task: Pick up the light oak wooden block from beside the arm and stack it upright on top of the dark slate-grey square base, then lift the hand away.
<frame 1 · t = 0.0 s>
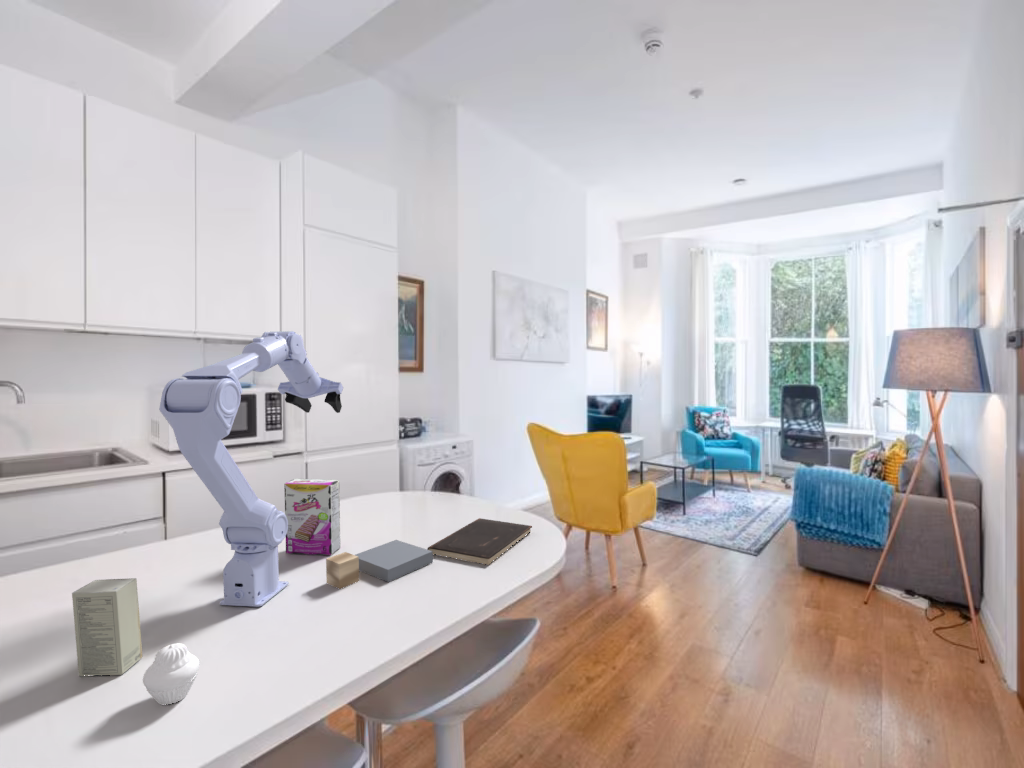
hand: (324, 409, 121), 32 cm above the table, tool tilted 50°, fingers open, 7 cm apart
muffin: (173, 698, 65), on the table
candy bar box: (313, 552, 116), on the table
slate base: (392, 565, 108), on the table
skincare box: (110, 669, 72), on the table
oak block: (342, 582, 99), on the table
hardcover book: (482, 545, 121), on the table
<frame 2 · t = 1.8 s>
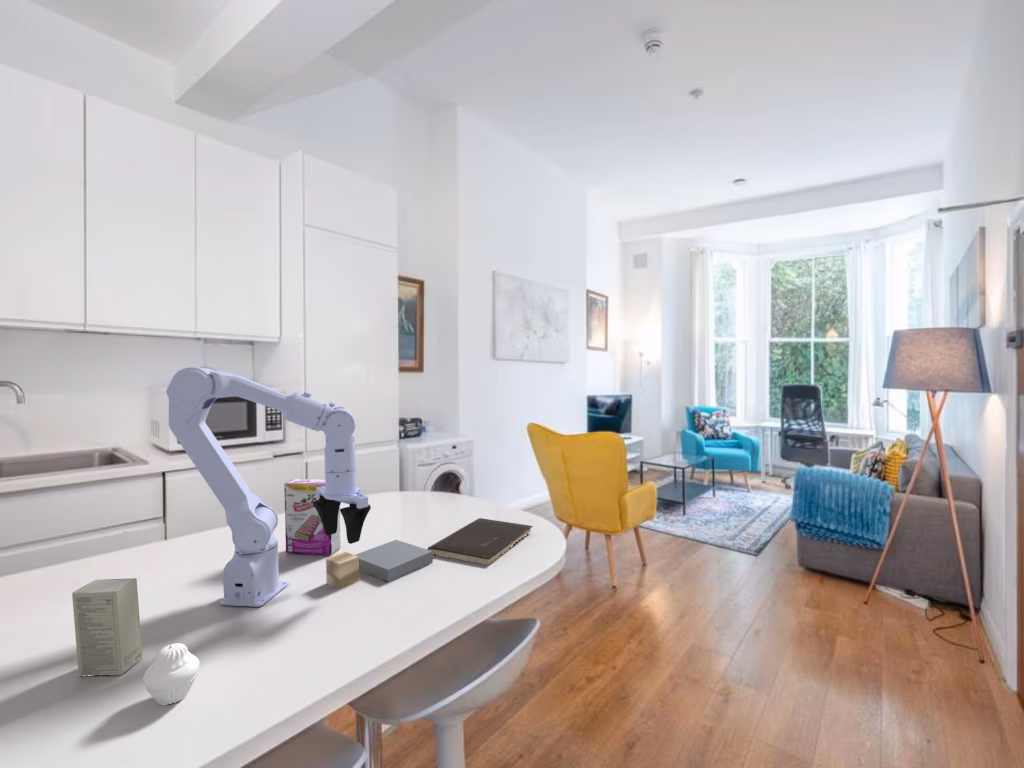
hand: (342, 538, 99), 9 cm above the table, tool pointing down, fingers open, 7 cm apart
nothing on the table moved.
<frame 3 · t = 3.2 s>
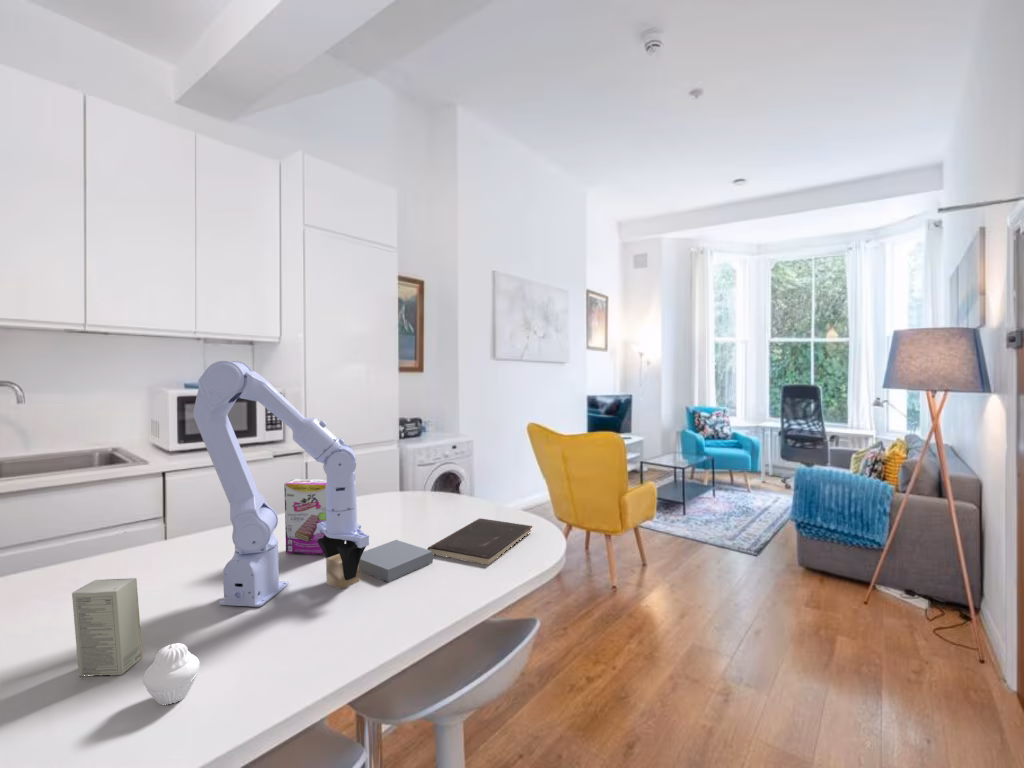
hand: (342, 575, 99), 1 cm above the table, tool pointing down, fingers closed on oak block, 4 cm apart
oak block: (343, 582, 99), on the table, touching gripper
everything else where it was.
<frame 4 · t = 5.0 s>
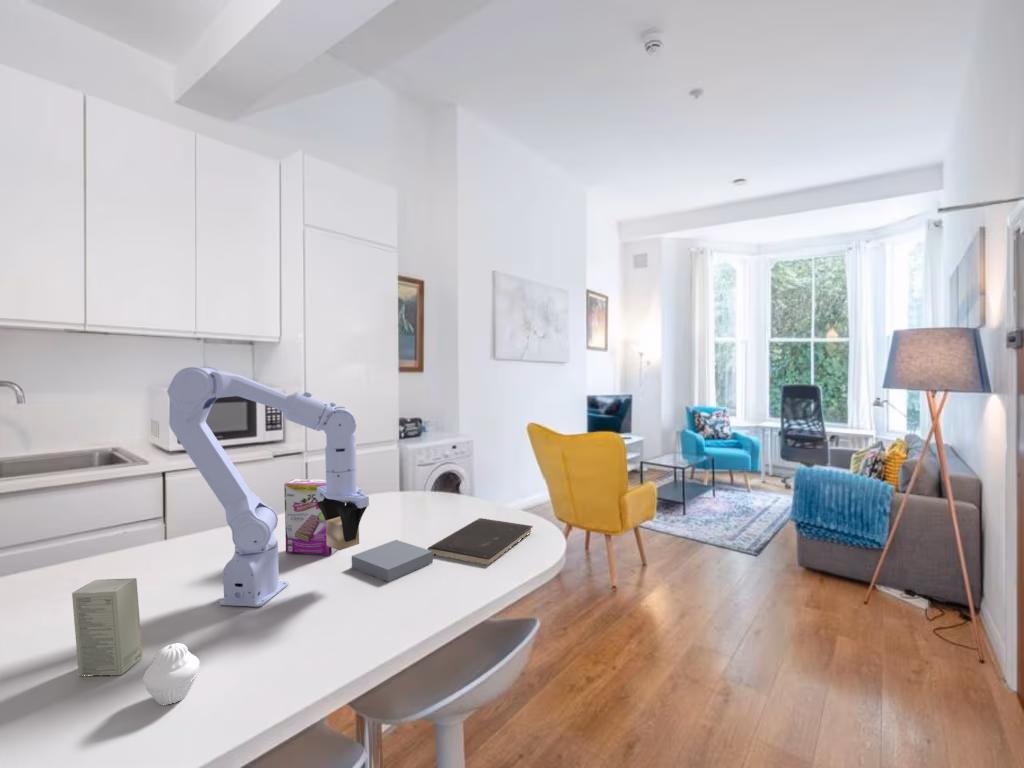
hand: (342, 537, 99), 9 cm above the table, tool pointing down, fingers closed on oak block, 4 cm apart
oak block: (342, 544, 99), point 7 cm above the table, touching gripper
everything else where it was.
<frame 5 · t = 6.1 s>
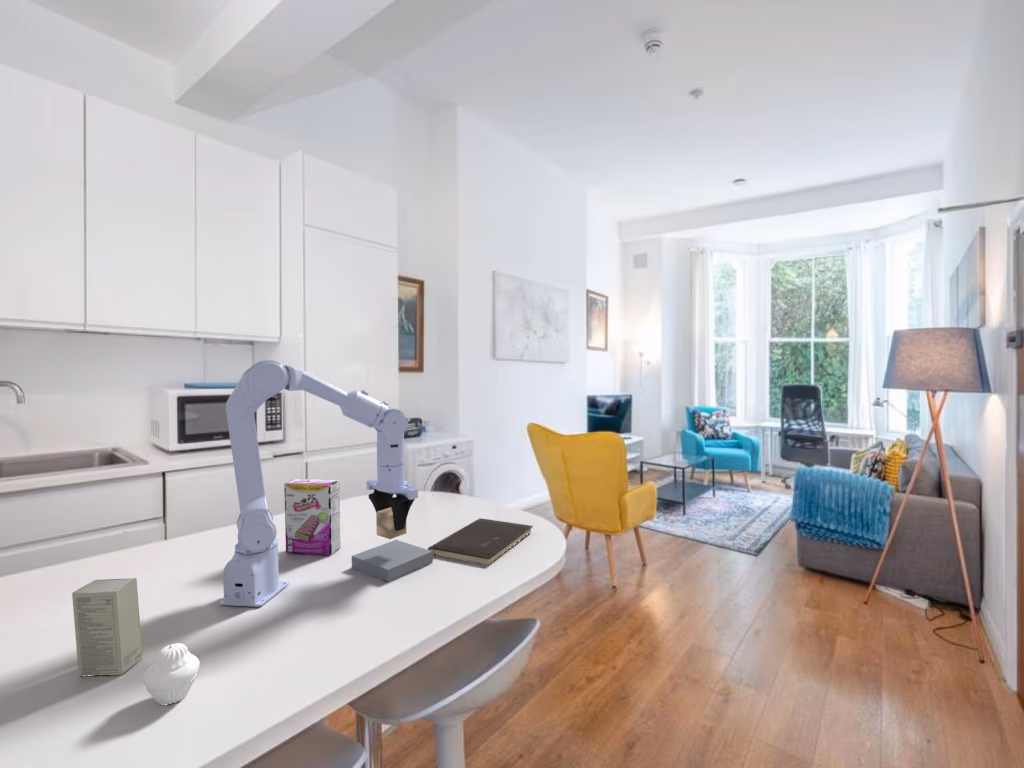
hand: (392, 527, 107), 8 cm above the table, tool pointing down, fingers closed on oak block, 4 cm apart
oak block: (391, 534, 107), point 7 cm above the table, touching gripper
everything else where it was.
when the fingers open (5 cm above the table, at t = 7.1 s): oak block stays where it is, resting on slate base.
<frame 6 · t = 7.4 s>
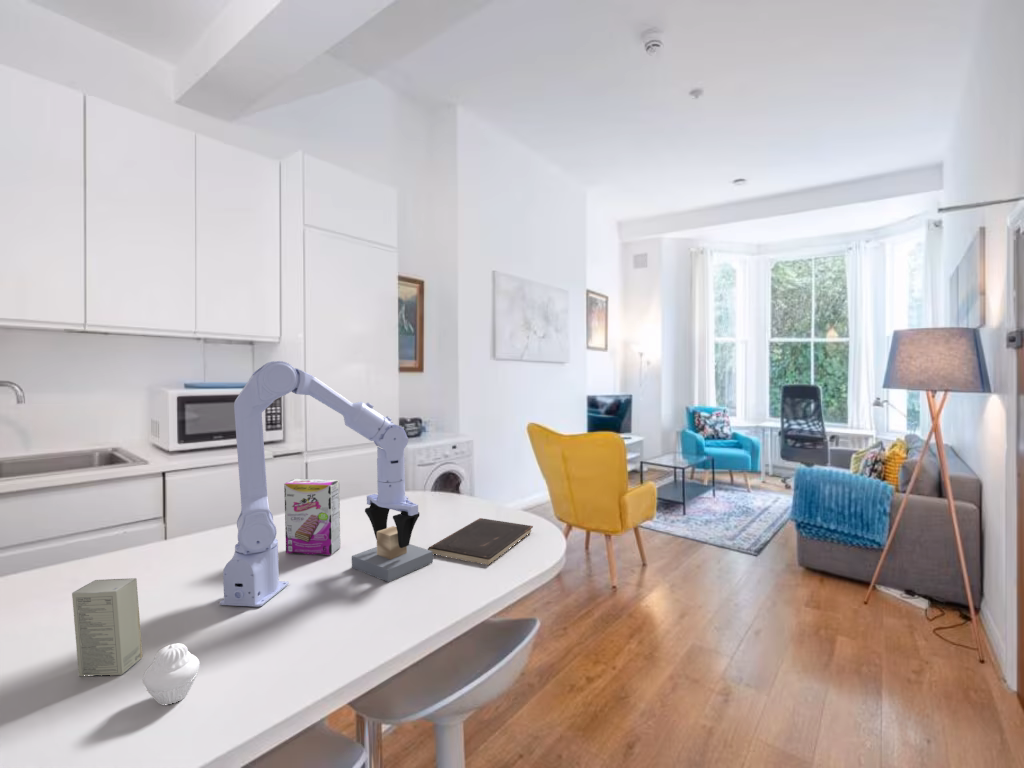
hand: (392, 542, 107), 5 cm above the table, tool pointing down, fingers open, 7 cm apart
oak block: (391, 553, 107), point 2 cm above the table, touching slate base
everything else where it was.
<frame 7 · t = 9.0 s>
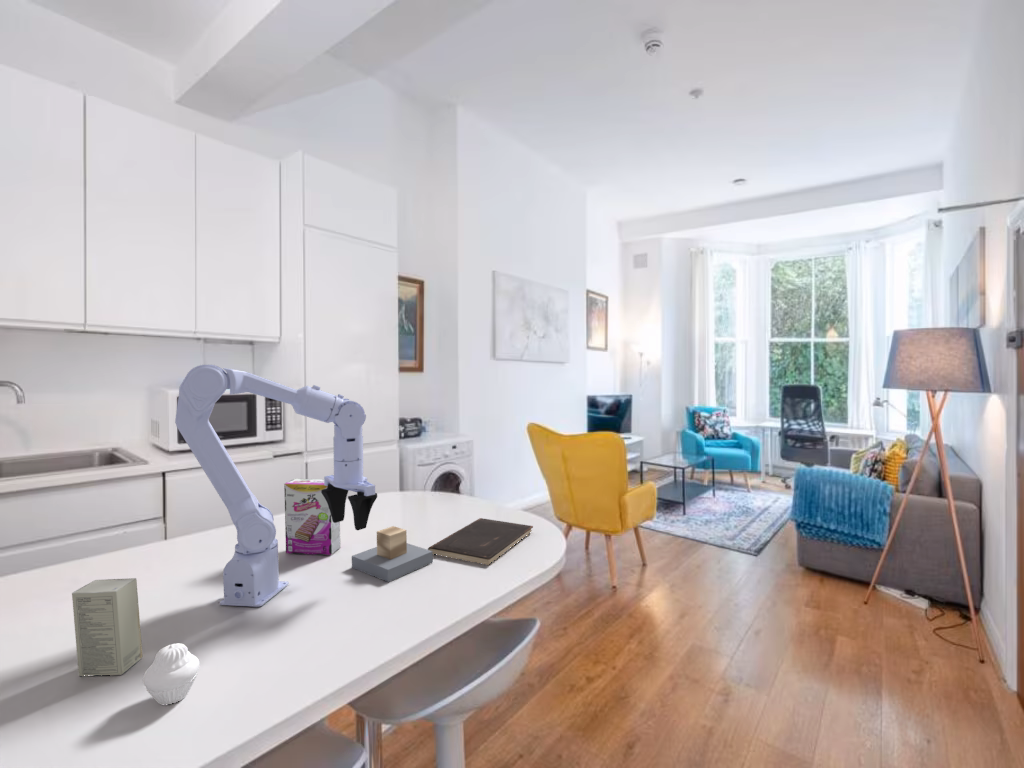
hand: (349, 525, 102), 10 cm above the table, tool pointing down, fingers open, 7 cm apart
nothing on the table moved.
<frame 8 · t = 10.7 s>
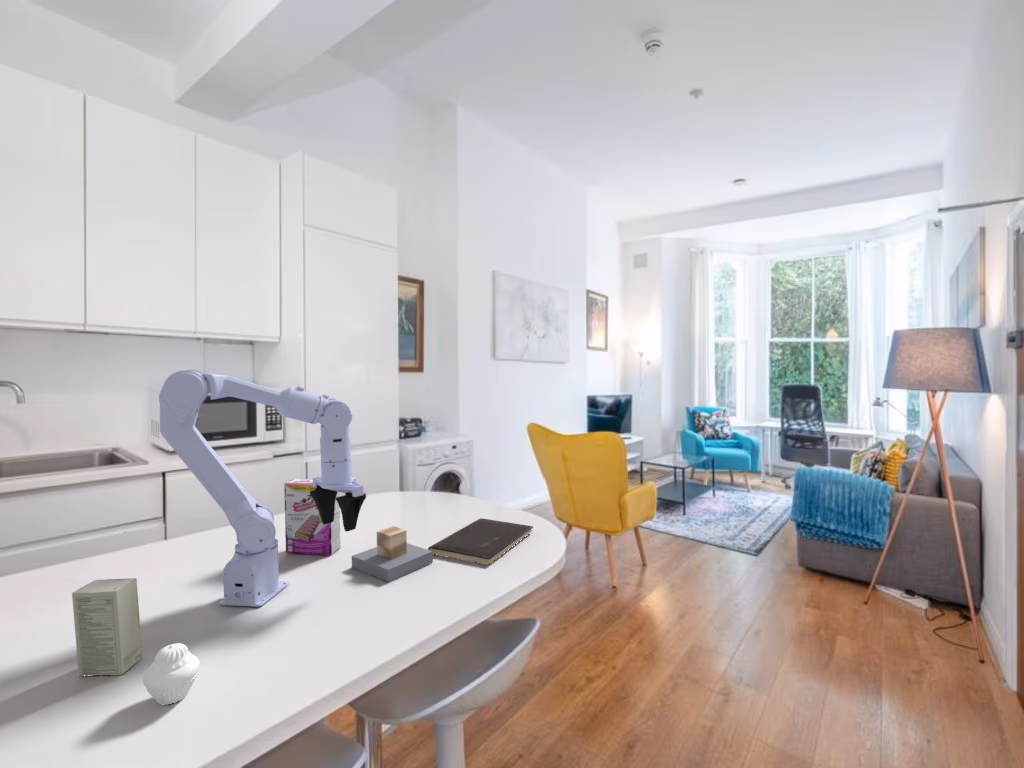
hand: (338, 526, 101), 10 cm above the table, tool pointing down, fingers open, 7 cm apart
nothing on the table moved.
at the end: oak block inside the target area on the slate base (0.1 cm from its centre), point 2.5 cm above the slate base's base; oak block tilted 0°; the gripper is holding nothing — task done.
